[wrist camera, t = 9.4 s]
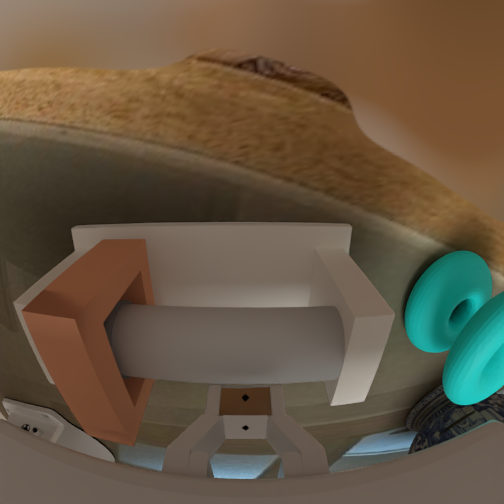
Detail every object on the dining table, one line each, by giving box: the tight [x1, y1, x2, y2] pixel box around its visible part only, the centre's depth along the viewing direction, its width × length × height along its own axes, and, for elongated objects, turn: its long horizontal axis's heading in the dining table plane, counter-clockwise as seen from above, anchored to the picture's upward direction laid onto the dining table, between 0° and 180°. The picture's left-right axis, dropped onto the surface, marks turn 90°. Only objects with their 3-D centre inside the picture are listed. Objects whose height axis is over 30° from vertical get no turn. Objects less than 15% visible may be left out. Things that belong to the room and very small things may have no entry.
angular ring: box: [21, 239, 155, 446], centre depth 14 cm, size 3×9×8 cm, turn 179°
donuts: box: [405, 251, 504, 405], centre depth 17 cm, size 10×10×10 cm
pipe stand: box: [13, 222, 395, 406], centre depth 16 cm, size 20×9×9 cm, turn 89°
